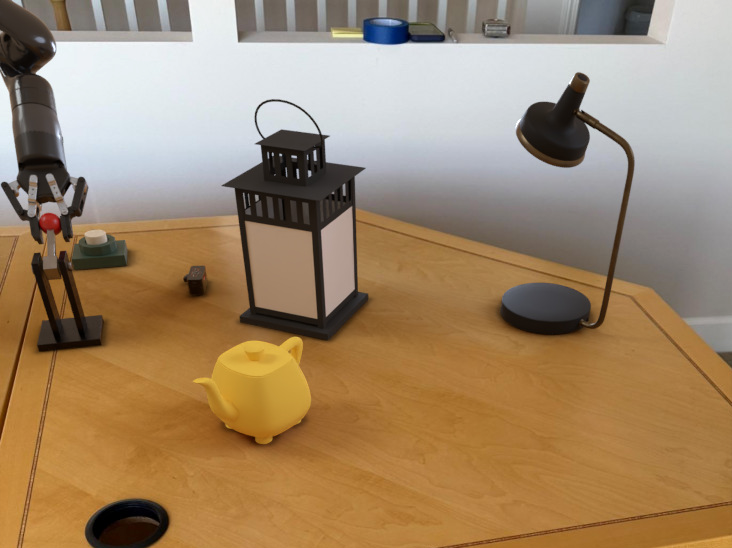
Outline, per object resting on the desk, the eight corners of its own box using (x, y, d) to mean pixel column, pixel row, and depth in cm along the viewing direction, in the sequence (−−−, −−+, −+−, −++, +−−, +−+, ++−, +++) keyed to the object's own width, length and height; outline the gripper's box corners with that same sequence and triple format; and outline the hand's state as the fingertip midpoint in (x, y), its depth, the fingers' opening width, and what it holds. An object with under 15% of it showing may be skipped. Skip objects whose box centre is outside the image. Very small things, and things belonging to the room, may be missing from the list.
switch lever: (42, 226, 131) (35, 208, 128) (64, 224, 131) (58, 207, 128) (44, 283, 125) (36, 266, 122) (67, 281, 126) (60, 264, 123)
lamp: (533, 284, 150) (564, 55, 124) (627, 324, 138) (683, 79, 112) (477, 309, 141) (497, 69, 116) (572, 353, 130) (618, 97, 104)
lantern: (368, 299, 144) (364, 87, 121) (328, 340, 132) (315, 114, 109) (286, 283, 149) (267, 77, 125) (240, 322, 137) (209, 101, 113)
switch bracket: (44, 326, 135) (19, 248, 126) (103, 321, 137) (83, 243, 127) (39, 351, 128) (12, 271, 119) (101, 345, 130) (79, 265, 121)
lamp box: (74, 270, 152) (68, 250, 150) (77, 254, 158) (71, 234, 155) (126, 265, 154) (122, 246, 151) (127, 250, 160) (123, 230, 157)
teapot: (176, 439, 110) (159, 362, 102) (274, 381, 122) (265, 308, 114) (243, 474, 104) (230, 395, 96) (338, 410, 116) (335, 335, 108)
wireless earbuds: (208, 280, 150) (206, 263, 147) (204, 296, 144) (201, 279, 142) (184, 280, 149) (181, 264, 147) (179, 296, 144) (176, 280, 142)
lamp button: (86, 246, 152) (83, 237, 151) (87, 239, 155) (84, 230, 154) (107, 245, 153) (105, 236, 151) (107, 237, 155) (105, 228, 154)
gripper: (-15, 131, 124) (0, 234, 124) (77, 126, 127) (92, 227, 126) (1, 156, 132) (15, 254, 131) (88, 151, 134) (102, 247, 134)
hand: (53, 240), depth 129 cm, fingers closed on switch lever, 3 cm apart
